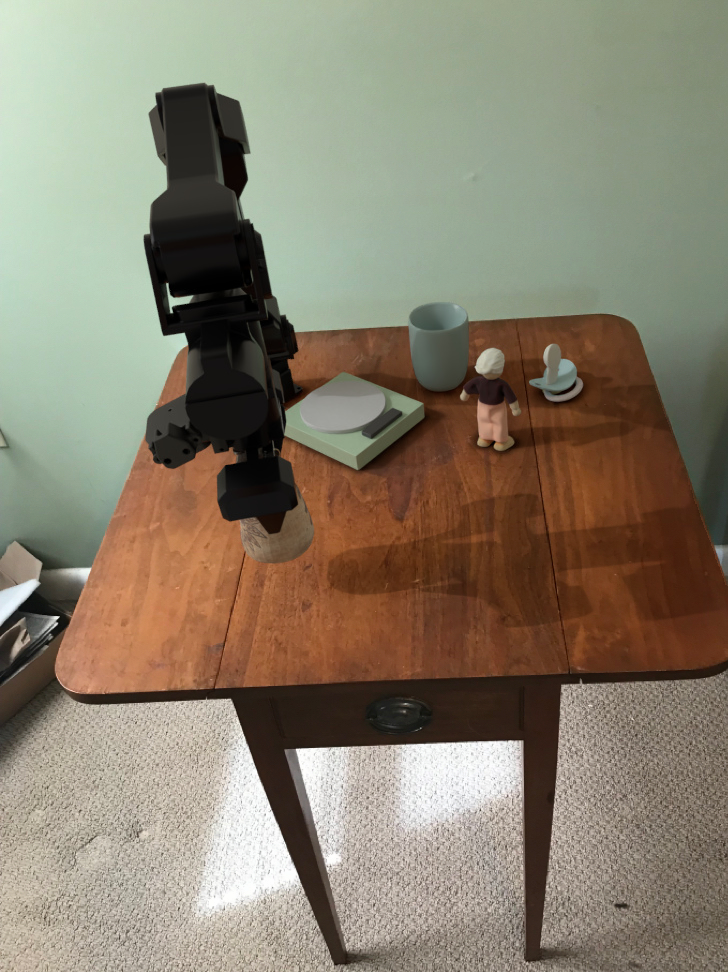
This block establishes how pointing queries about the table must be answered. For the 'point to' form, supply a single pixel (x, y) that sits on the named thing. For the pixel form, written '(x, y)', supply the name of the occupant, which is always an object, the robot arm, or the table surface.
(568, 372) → the pacifier
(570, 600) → the table surface
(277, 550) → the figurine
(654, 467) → the table surface
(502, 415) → the grandmother figurine
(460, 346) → the cup
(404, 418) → the kitchen scale
